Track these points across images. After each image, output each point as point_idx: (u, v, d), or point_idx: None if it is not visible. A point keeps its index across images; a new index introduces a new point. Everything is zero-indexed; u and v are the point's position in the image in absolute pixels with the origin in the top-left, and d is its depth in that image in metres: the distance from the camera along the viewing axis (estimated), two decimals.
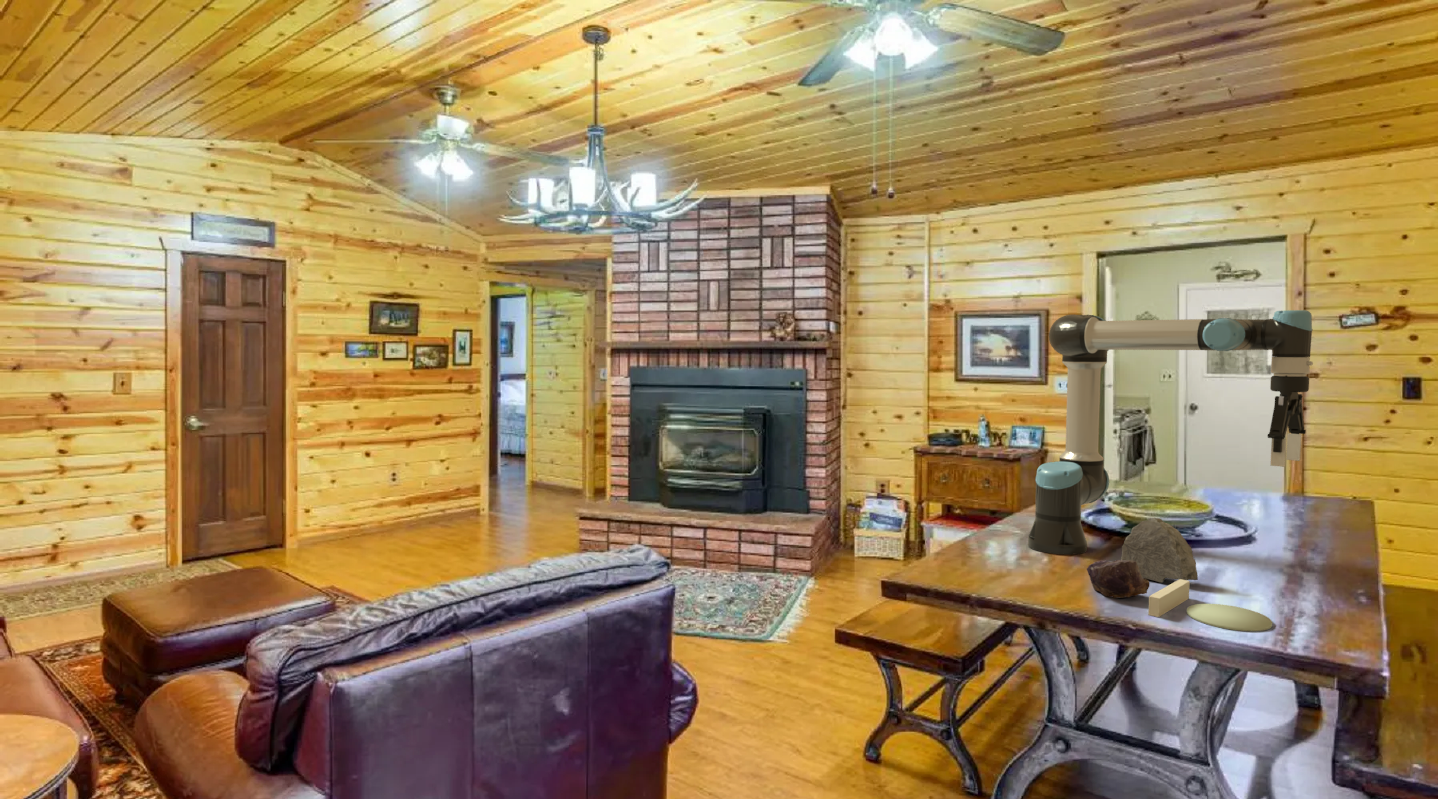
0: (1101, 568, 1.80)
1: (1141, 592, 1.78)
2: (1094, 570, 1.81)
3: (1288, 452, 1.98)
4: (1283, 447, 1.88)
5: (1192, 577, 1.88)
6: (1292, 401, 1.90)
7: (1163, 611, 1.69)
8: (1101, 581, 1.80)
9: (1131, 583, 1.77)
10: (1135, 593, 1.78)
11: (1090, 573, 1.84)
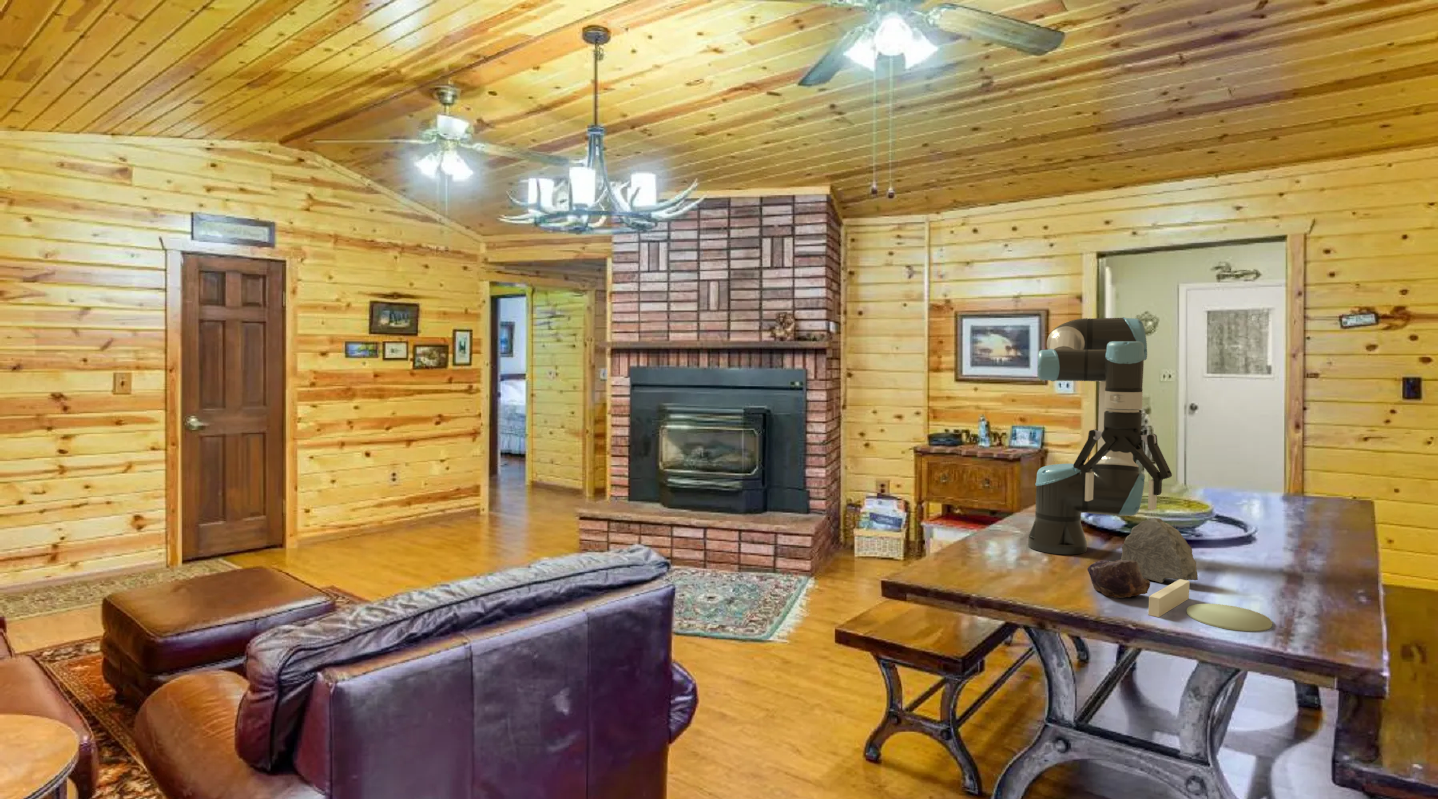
0: (1102, 568, 1.80)
1: (1141, 592, 1.78)
2: (1095, 570, 1.82)
3: None
4: None
5: (1192, 577, 1.88)
6: (1110, 437, 1.80)
7: (1163, 611, 1.69)
8: (1101, 581, 1.80)
9: (1132, 583, 1.77)
10: (1136, 593, 1.78)
11: (1091, 573, 1.84)
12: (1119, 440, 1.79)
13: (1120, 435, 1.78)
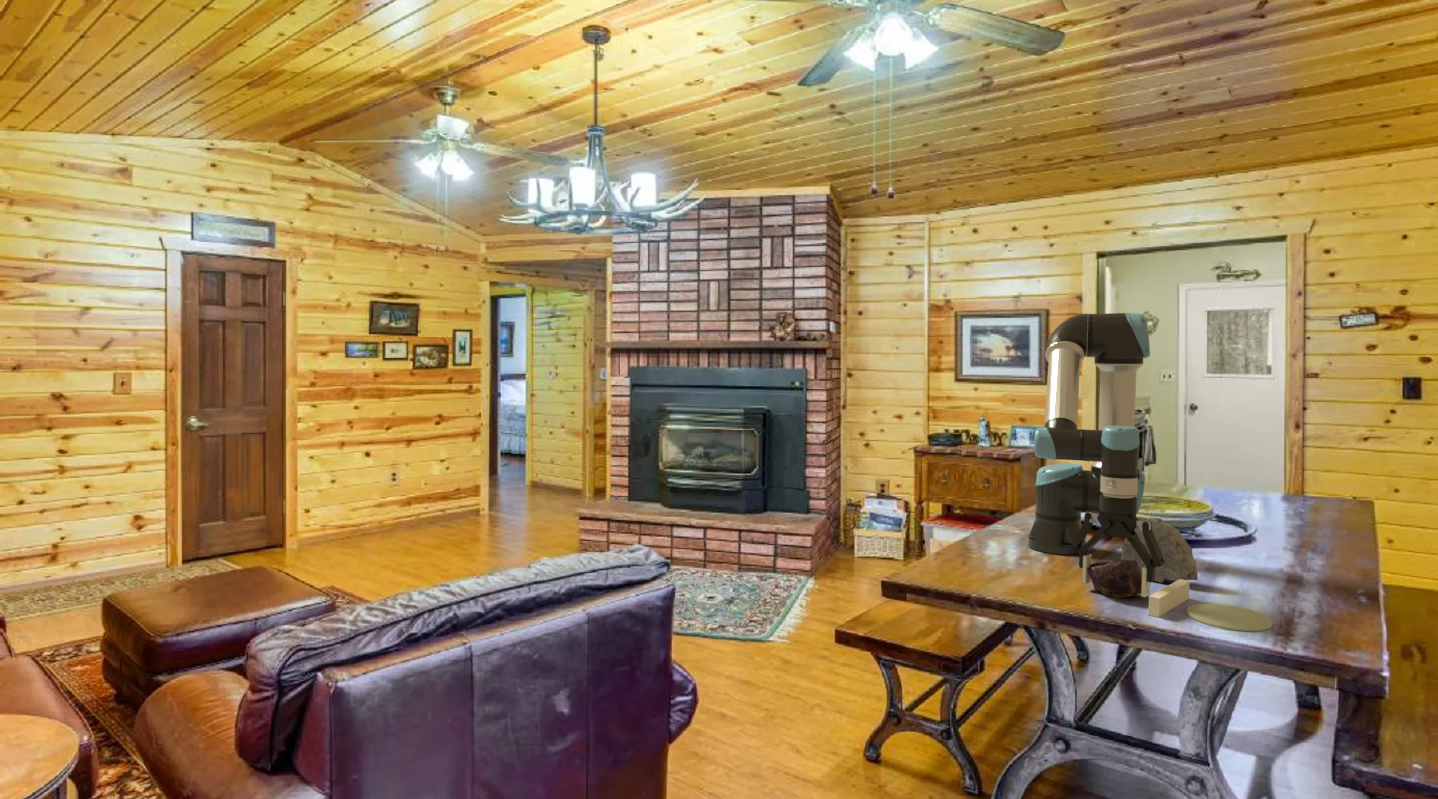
0: (1102, 568, 1.80)
1: None
2: (1095, 570, 1.82)
3: None
4: None
5: (1192, 577, 1.88)
6: (1105, 521, 1.81)
7: (1163, 611, 1.69)
8: (1101, 580, 1.80)
9: (1132, 582, 1.77)
10: (1136, 593, 1.78)
11: (1091, 573, 1.84)
12: (1114, 524, 1.80)
13: (1115, 519, 1.80)
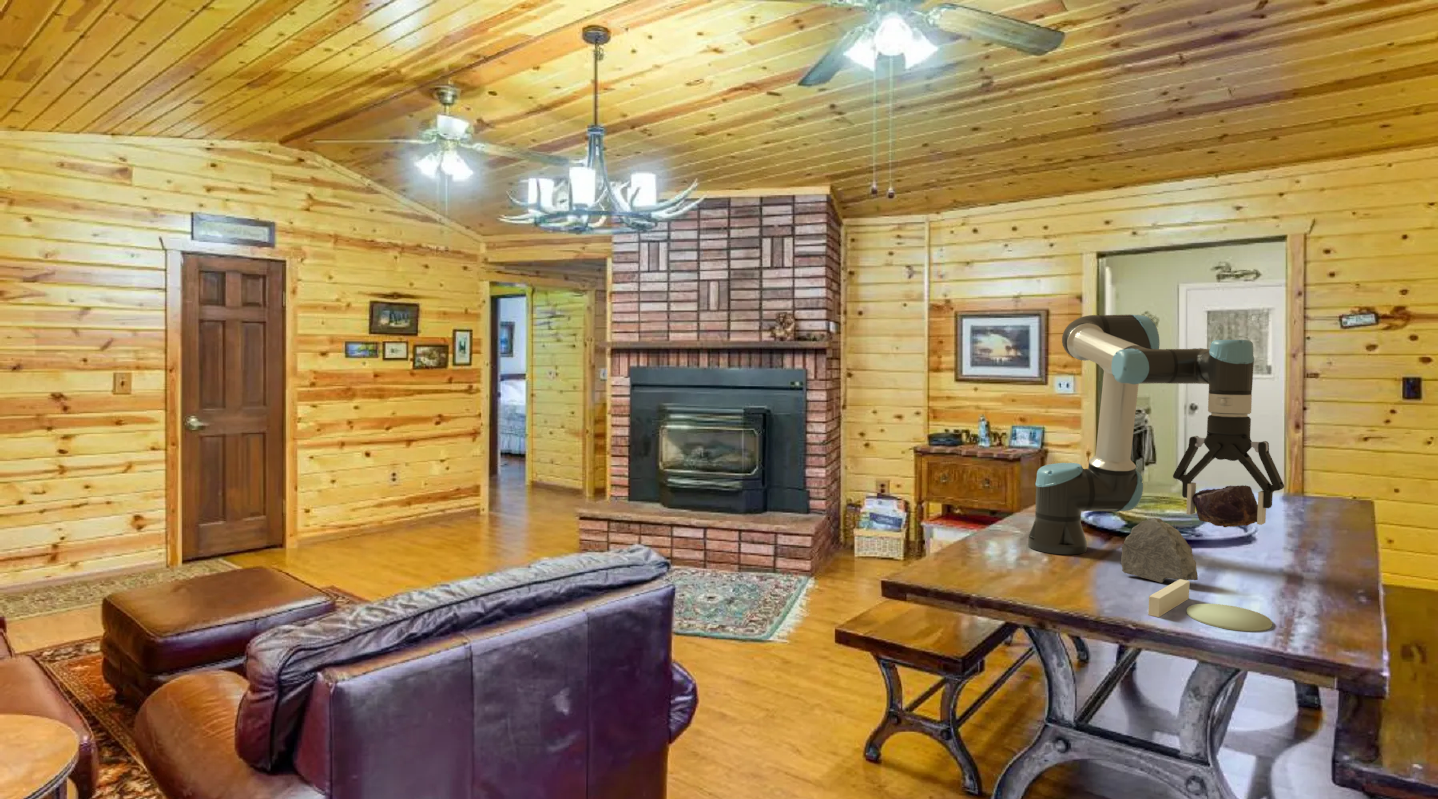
0: (1211, 494, 1.64)
1: (1256, 520, 1.62)
2: (1202, 497, 1.66)
3: None
4: None
5: (1192, 577, 1.88)
6: (1214, 444, 1.66)
7: (1163, 611, 1.69)
8: (1210, 508, 1.64)
9: (1246, 509, 1.62)
10: (1249, 521, 1.63)
11: (1196, 502, 1.68)
12: (1225, 447, 1.64)
13: (1226, 441, 1.64)
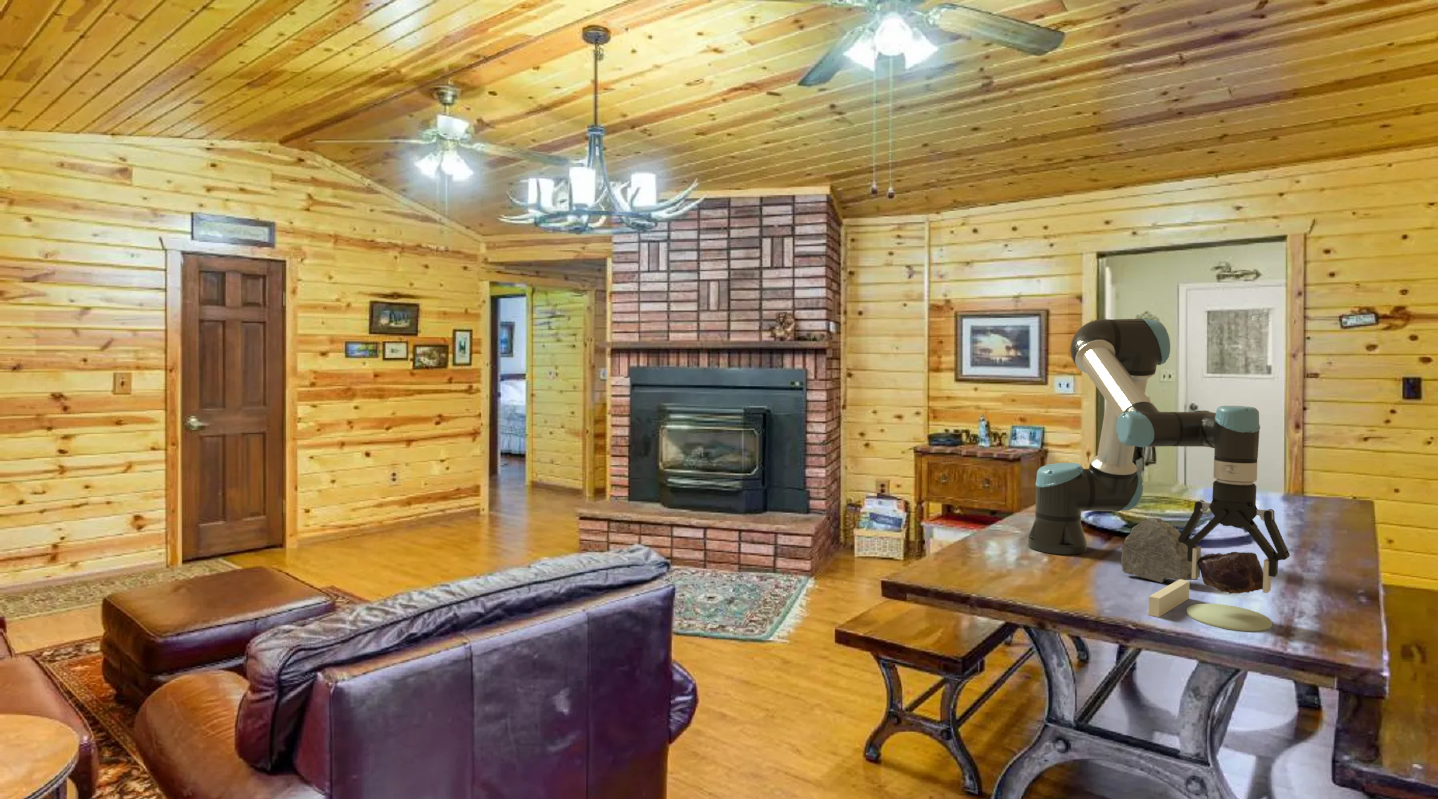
0: (1217, 561, 1.64)
1: (1261, 587, 1.62)
2: (1208, 563, 1.66)
3: None
4: None
5: None
6: (1220, 510, 1.66)
7: (1163, 611, 1.69)
8: (1216, 575, 1.64)
9: (1251, 577, 1.62)
10: (1255, 588, 1.63)
11: (1202, 567, 1.68)
12: (1231, 514, 1.65)
13: (1232, 508, 1.64)
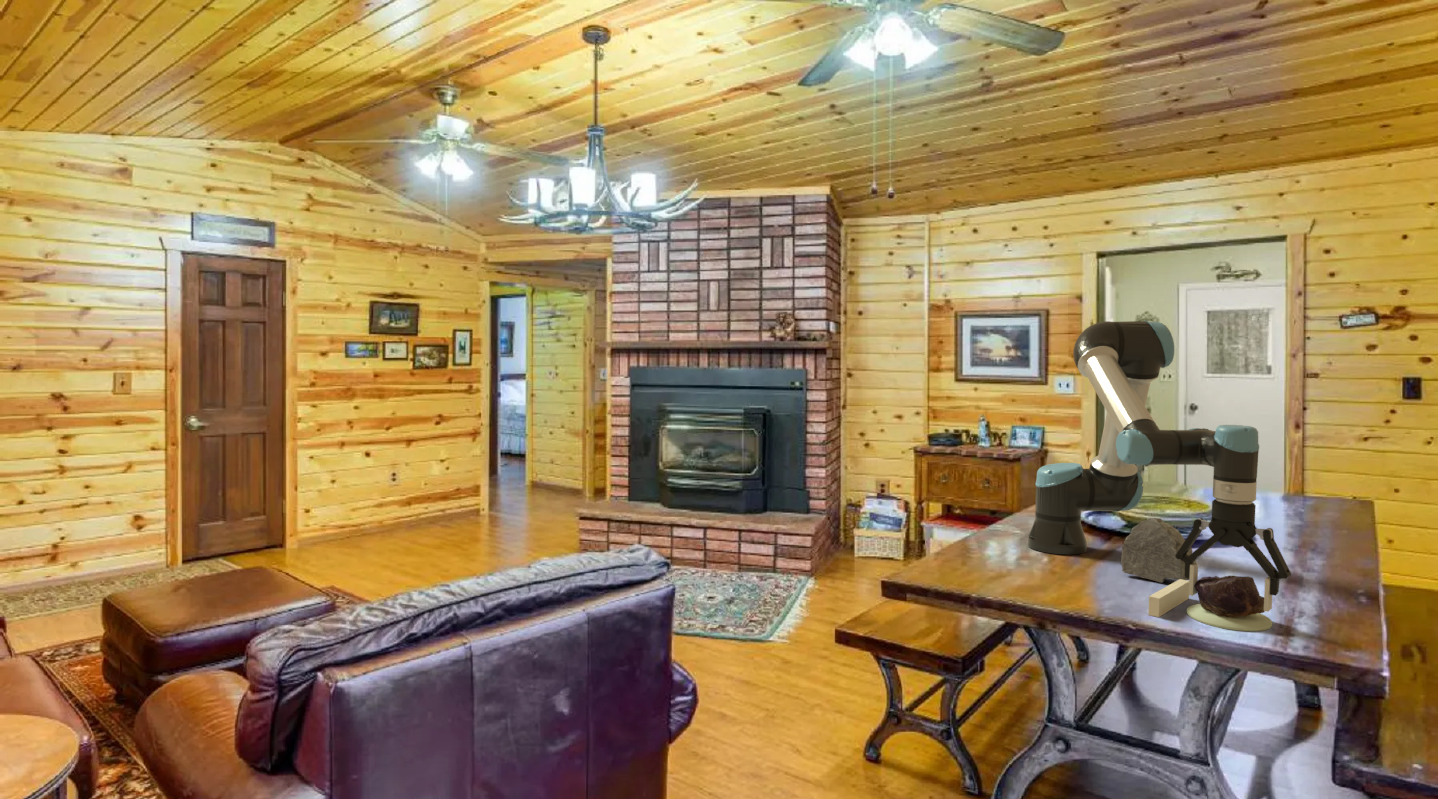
0: (1214, 585, 1.65)
1: (1258, 611, 1.63)
2: (1205, 587, 1.67)
3: None
4: None
5: None
6: (1219, 529, 1.66)
7: (1163, 611, 1.69)
8: (1214, 599, 1.65)
9: (1248, 601, 1.63)
10: (1252, 612, 1.64)
11: (1199, 590, 1.69)
12: (1230, 533, 1.65)
13: (1231, 527, 1.65)
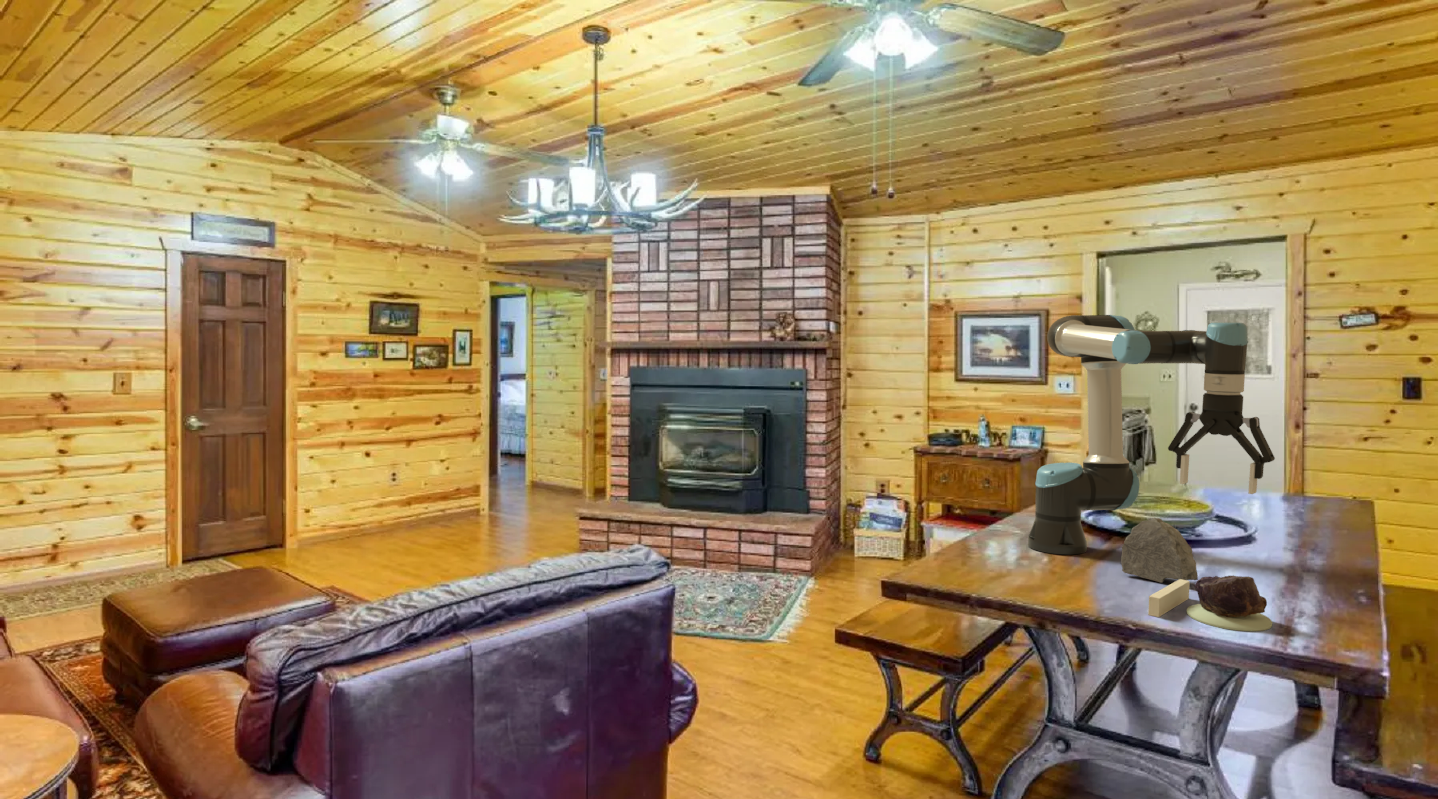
0: (1214, 585, 1.65)
1: (1258, 611, 1.63)
2: (1205, 587, 1.67)
3: None
4: None
5: (1192, 577, 1.88)
6: (1209, 420, 1.78)
7: (1163, 611, 1.69)
8: (1214, 599, 1.65)
9: (1249, 601, 1.63)
10: (1252, 612, 1.64)
11: (1199, 590, 1.69)
12: (1219, 423, 1.76)
13: (1220, 418, 1.76)
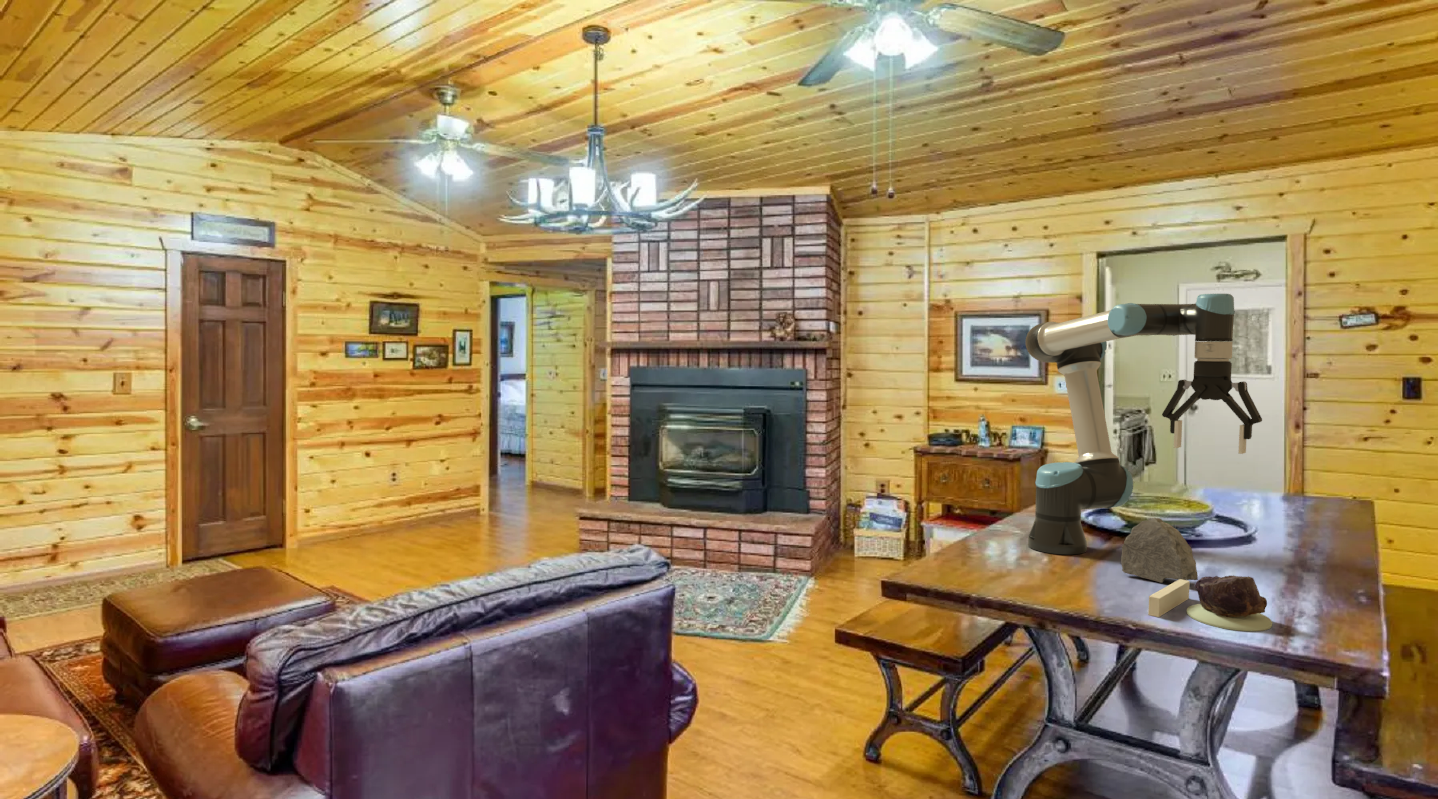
0: (1214, 585, 1.65)
1: (1258, 611, 1.63)
2: (1205, 587, 1.67)
3: None
4: None
5: (1192, 577, 1.88)
6: (1200, 386, 1.89)
7: (1163, 611, 1.69)
8: (1214, 599, 1.65)
9: (1249, 601, 1.63)
10: (1252, 612, 1.64)
11: (1199, 590, 1.69)
12: (1209, 388, 1.88)
13: (1210, 383, 1.87)
